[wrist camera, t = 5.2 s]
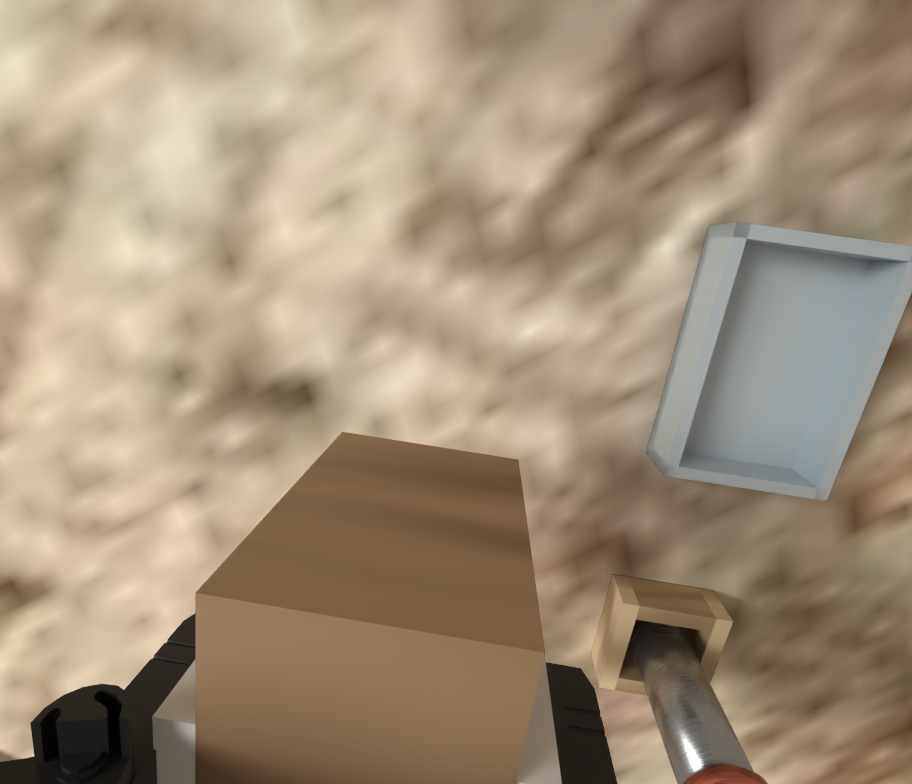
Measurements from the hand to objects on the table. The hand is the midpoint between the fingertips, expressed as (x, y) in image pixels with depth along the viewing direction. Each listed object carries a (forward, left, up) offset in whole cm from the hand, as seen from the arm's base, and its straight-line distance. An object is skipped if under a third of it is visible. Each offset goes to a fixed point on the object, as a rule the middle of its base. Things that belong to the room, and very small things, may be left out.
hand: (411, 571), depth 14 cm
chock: (0, 0, 0) cm, 1 cm away
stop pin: (+11, +14, -13) cm, 22 cm away
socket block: (+11, +14, -13) cm, 22 cm away
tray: (-6, +15, -13) cm, 21 cm away
